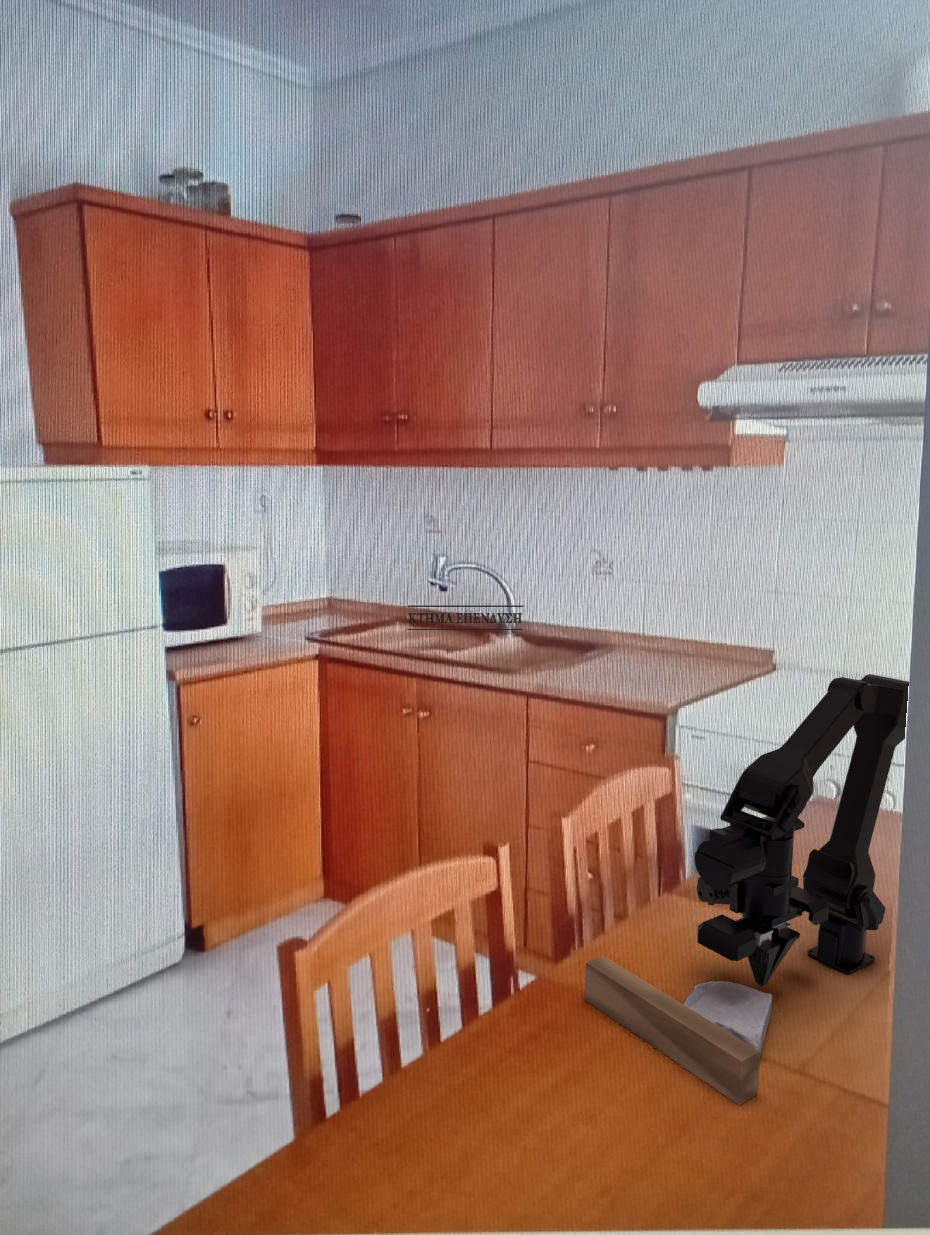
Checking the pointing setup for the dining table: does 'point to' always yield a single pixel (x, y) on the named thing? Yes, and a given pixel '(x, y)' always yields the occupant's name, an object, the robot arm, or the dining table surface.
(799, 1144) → the dining table surface
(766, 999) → the stone block
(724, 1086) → the board
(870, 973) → the dining table surface
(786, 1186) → the dining table surface
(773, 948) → the robot arm
